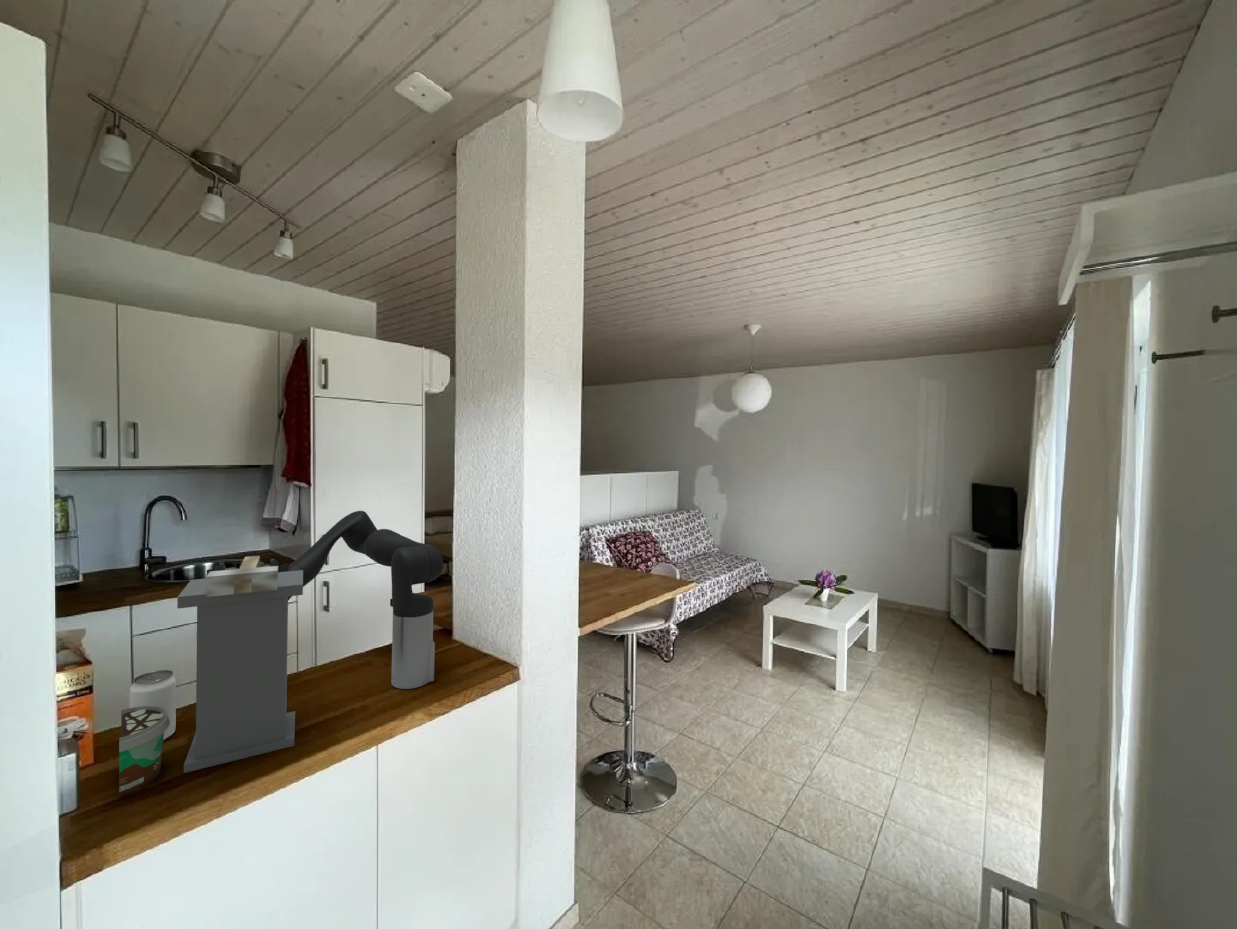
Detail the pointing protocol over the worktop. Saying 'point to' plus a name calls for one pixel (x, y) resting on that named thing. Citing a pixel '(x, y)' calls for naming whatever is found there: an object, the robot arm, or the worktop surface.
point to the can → (156, 694)
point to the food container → (140, 746)
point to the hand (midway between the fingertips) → (247, 565)
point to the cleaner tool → (242, 579)
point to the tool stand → (241, 672)
